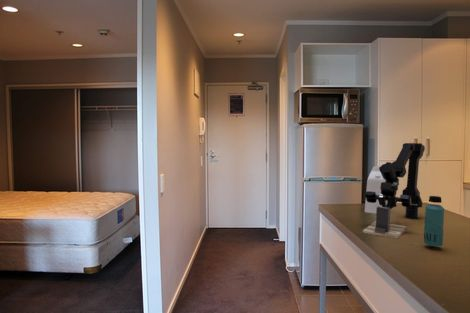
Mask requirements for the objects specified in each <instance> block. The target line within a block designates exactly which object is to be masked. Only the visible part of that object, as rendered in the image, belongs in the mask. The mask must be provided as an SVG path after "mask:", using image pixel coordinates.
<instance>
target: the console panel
mask: <svg viewBox="0 0 470 313" xmlns="http://www.w3.org/2000/svg"><path fill="white" fill-rule="evenodd" d="M406 229H407V226H406V225H400V224H393V223H390V227H389V231H388V232H385V229H381V228H376V221H373V222H372V223H371V224H369V225H368V226H367V227H365V228H364V229H363V230H362V233H364V234H369V235H373V236H379V237H386V238H391V239H395V240H396V239H399V238H400V236H402V234H403V233H404V232H405V231H406Z"/></svg>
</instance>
